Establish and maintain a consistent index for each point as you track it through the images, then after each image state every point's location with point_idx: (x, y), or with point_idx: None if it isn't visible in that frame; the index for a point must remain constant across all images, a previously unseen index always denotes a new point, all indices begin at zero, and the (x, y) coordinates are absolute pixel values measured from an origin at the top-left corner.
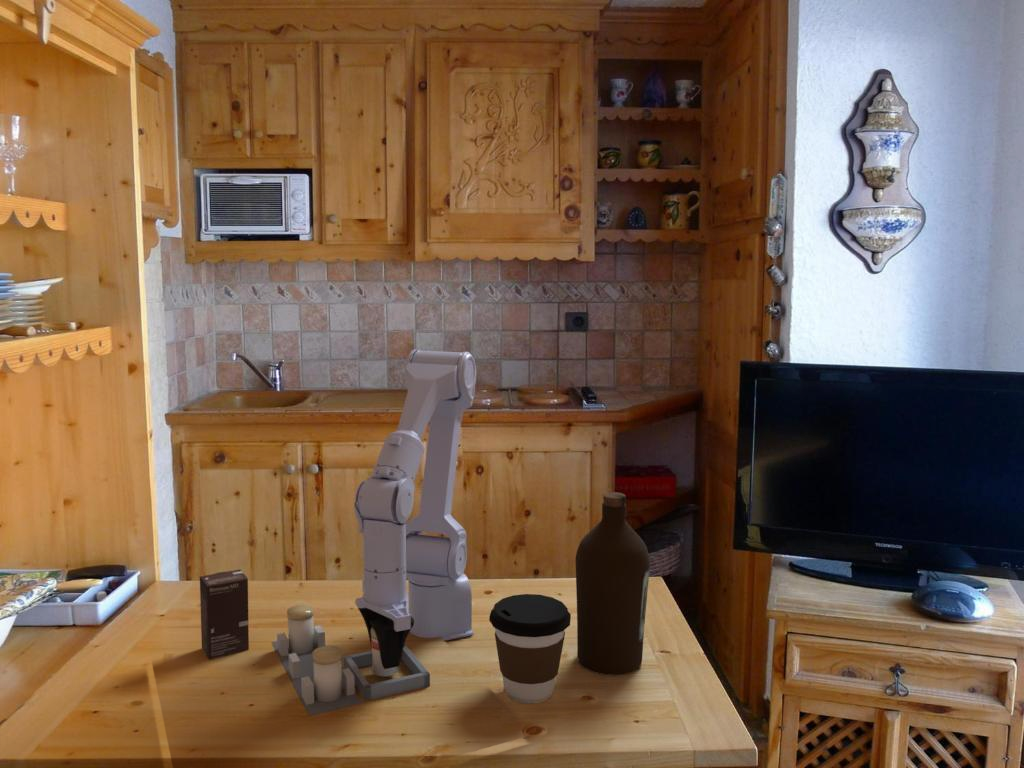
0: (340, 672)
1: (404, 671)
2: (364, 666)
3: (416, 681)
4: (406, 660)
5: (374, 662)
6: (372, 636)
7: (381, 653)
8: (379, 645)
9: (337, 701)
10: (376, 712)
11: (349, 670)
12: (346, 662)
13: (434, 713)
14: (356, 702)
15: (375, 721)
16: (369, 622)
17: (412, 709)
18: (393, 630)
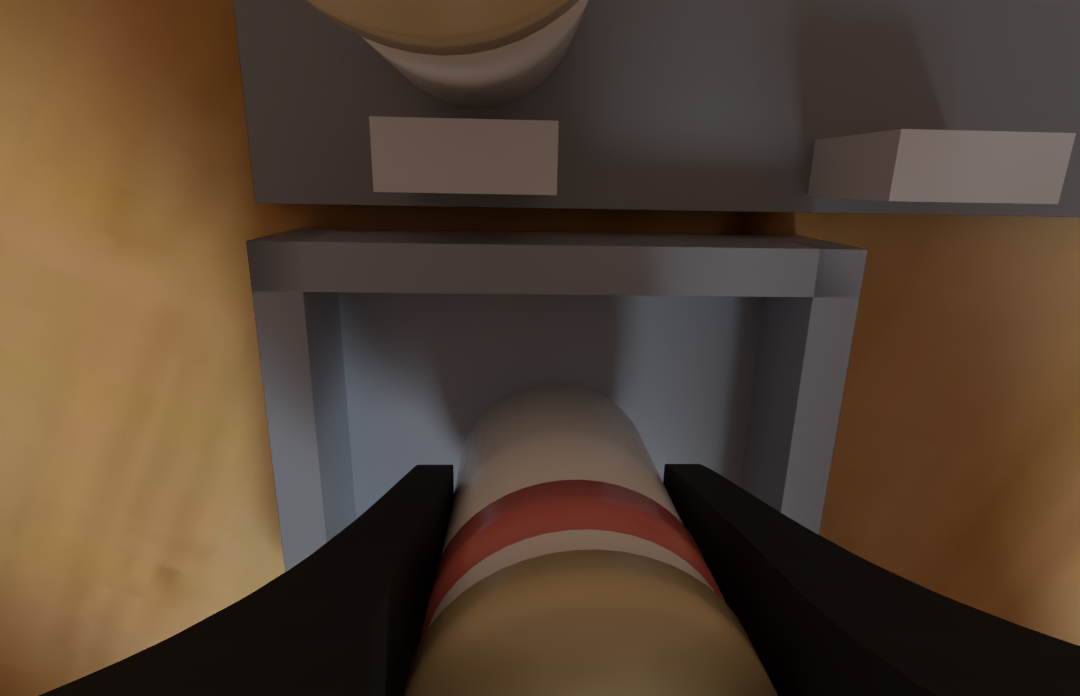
0: (363, 38)
1: None
2: (758, 372)
3: None
4: None
5: (530, 425)
6: (557, 565)
7: (355, 521)
8: (364, 563)
9: (344, 31)
10: (202, 267)
11: (507, 186)
12: (784, 246)
13: (88, 555)
14: (278, 162)
15: (90, 226)
16: (843, 674)
17: (170, 468)
18: None
